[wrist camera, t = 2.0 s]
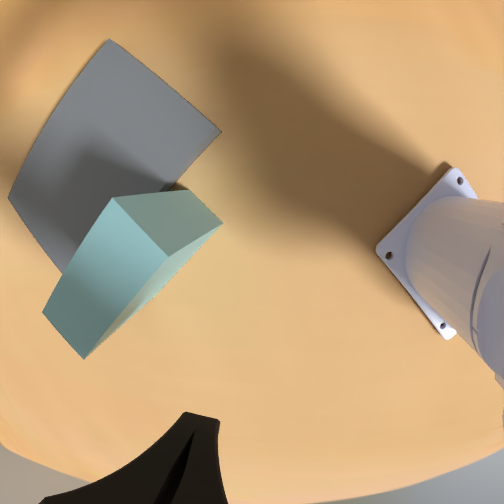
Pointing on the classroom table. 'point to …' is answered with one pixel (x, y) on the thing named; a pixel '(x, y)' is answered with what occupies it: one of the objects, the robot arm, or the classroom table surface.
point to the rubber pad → (105, 149)
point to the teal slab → (126, 263)
